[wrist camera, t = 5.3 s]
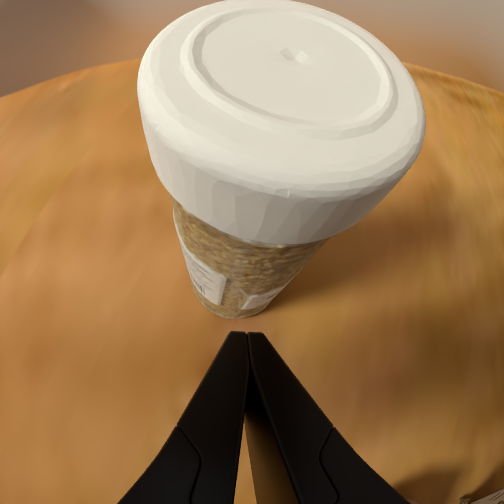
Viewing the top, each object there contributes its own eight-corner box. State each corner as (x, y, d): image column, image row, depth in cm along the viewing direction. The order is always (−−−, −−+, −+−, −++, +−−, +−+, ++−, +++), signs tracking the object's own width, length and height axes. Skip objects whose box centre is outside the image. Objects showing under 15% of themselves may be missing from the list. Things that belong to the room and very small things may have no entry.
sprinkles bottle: (279, 318, 16) (474, 204, 4) (189, 319, 16) (96, 188, 3) (275, 233, 18) (386, 12, 5) (190, 233, 17) (161, -14, 4)
